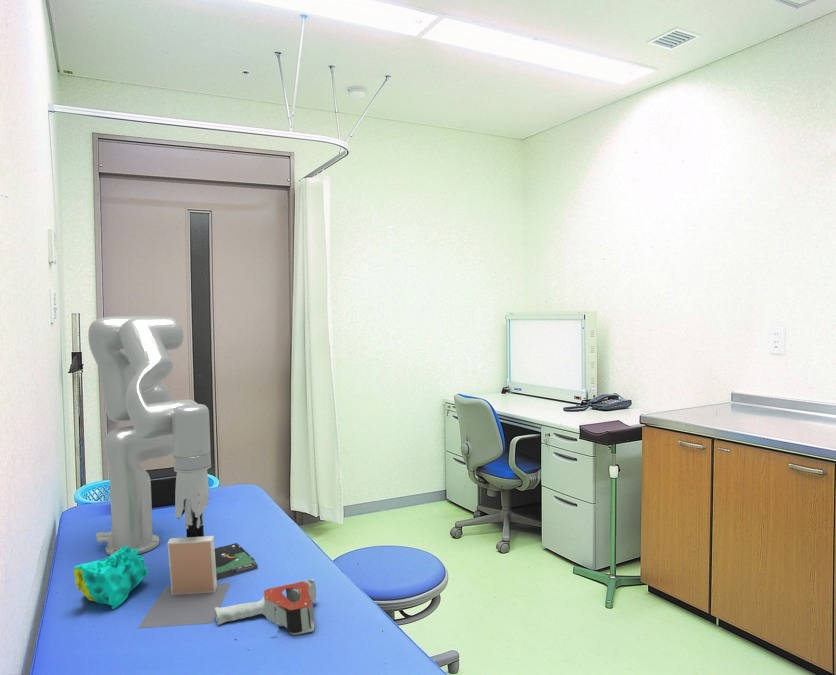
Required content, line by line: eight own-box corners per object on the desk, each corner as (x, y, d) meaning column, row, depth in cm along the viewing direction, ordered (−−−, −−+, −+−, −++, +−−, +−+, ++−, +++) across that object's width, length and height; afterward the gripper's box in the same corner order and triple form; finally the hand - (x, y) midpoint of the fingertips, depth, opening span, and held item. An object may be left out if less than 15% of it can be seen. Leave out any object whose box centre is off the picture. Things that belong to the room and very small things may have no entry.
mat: (137, 631, 115) (137, 628, 115) (165, 589, 132) (165, 586, 132) (212, 626, 116) (212, 623, 116) (230, 585, 133) (230, 582, 133)
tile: (171, 595, 128) (167, 543, 126) (174, 589, 130) (170, 538, 128) (214, 592, 129) (211, 540, 127) (217, 586, 131) (213, 535, 129)
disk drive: (195, 564, 146) (214, 585, 134) (195, 552, 146) (214, 573, 134) (237, 553, 152) (259, 572, 140) (236, 542, 152) (258, 561, 140)
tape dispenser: (207, 631, 117) (281, 655, 106) (204, 604, 117) (278, 626, 106) (273, 590, 132) (344, 608, 121) (271, 566, 131) (341, 582, 121)
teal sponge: (58, 566, 128) (116, 524, 136) (91, 609, 131) (146, 565, 139) (69, 577, 117) (132, 531, 125) (105, 624, 119) (164, 575, 127)
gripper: (184, 454, 137) (187, 533, 137) (163, 471, 122) (167, 560, 123) (218, 452, 137) (220, 531, 138) (201, 470, 122) (204, 557, 123)
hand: (195, 544), depth 130 cm, fingers closed
